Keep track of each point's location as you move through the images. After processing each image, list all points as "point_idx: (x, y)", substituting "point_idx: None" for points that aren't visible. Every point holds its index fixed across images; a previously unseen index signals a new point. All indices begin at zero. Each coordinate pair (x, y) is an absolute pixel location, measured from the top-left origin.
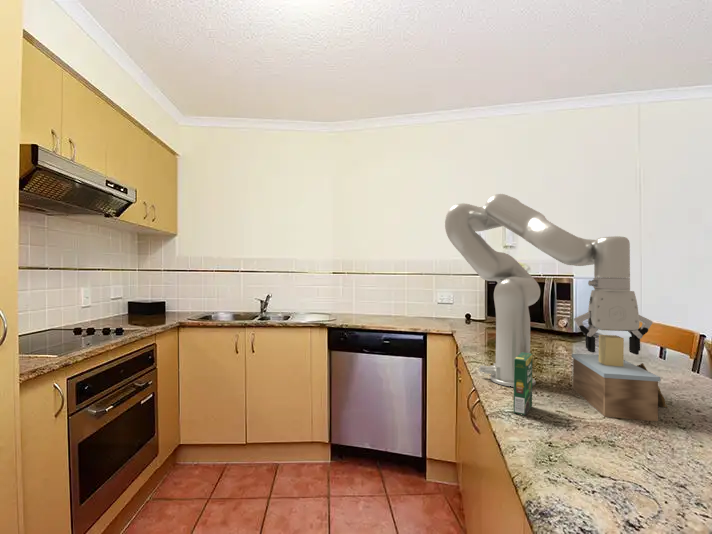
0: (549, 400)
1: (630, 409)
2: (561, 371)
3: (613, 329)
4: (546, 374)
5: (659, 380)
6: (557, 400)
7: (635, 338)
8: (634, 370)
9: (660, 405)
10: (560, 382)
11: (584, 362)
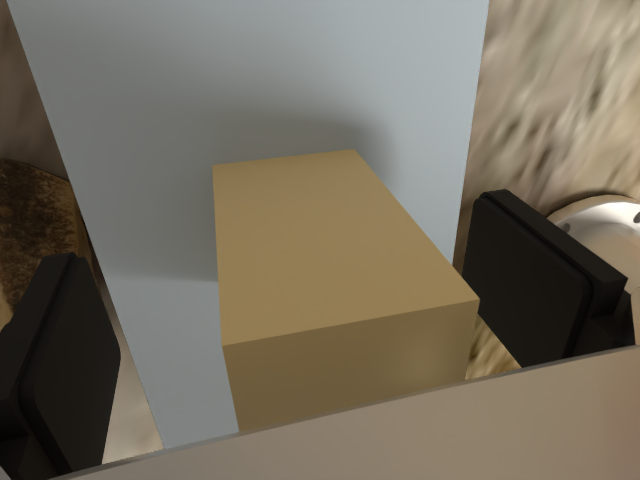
0: (535, 59)
1: None
2: None
3: (483, 378)
4: None
5: None
6: (497, 74)
7: (19, 418)
8: (152, 13)
9: (3, 161)
10: None
11: (453, 221)
